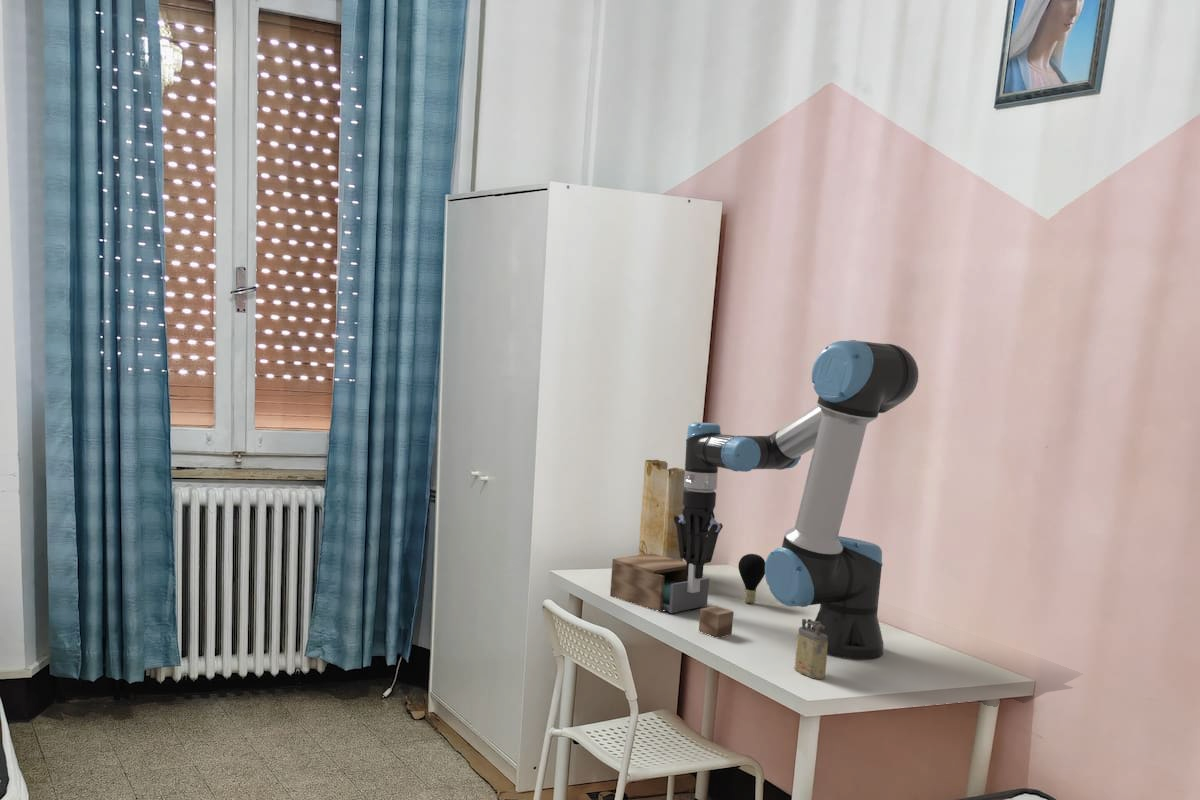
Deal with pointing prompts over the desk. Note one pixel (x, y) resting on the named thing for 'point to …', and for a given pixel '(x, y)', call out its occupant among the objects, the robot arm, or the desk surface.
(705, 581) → the tray
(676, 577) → the box
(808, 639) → the lighter
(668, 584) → the teal rounded puck
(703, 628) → the block
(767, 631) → the desk surface
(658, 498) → the tan piece
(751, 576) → the light bulb
